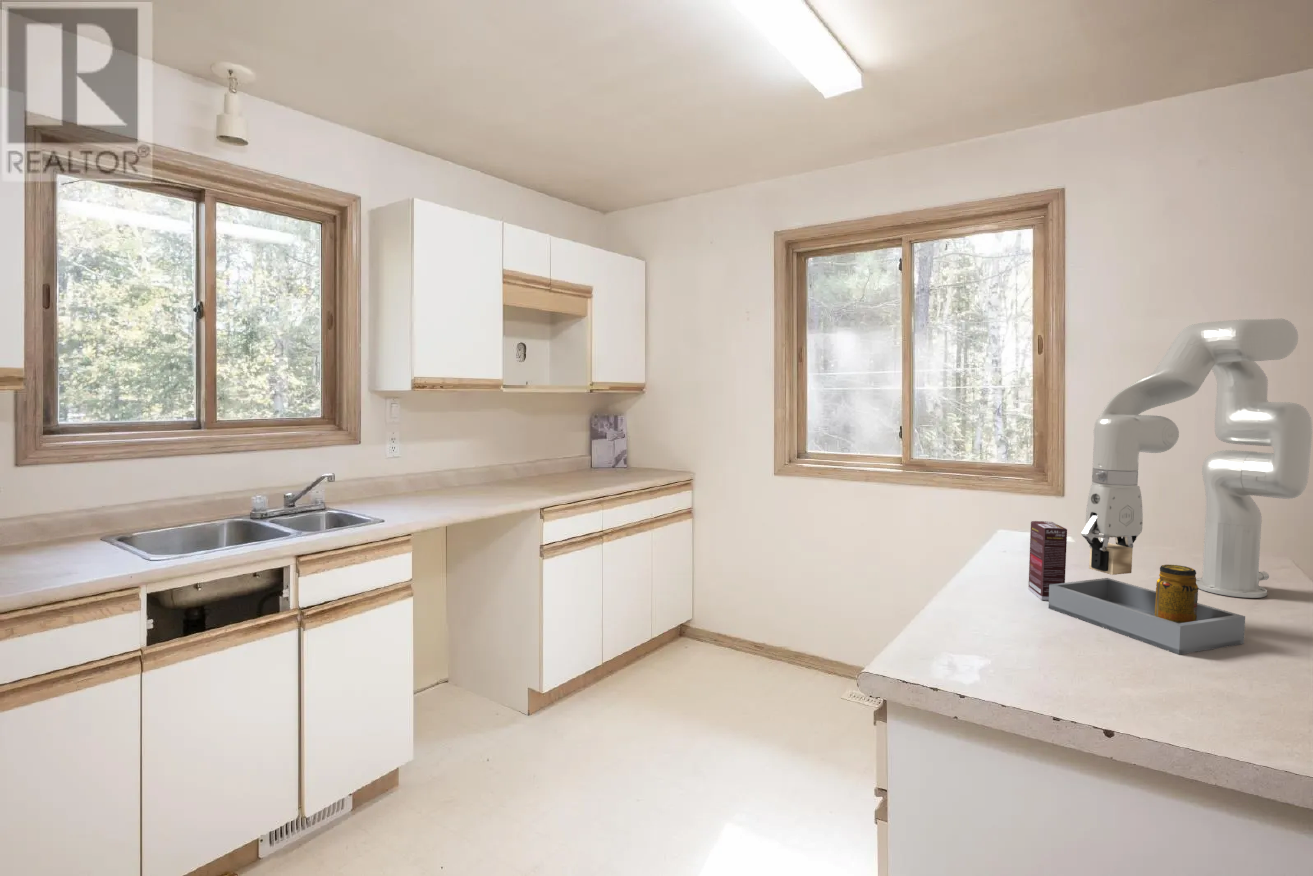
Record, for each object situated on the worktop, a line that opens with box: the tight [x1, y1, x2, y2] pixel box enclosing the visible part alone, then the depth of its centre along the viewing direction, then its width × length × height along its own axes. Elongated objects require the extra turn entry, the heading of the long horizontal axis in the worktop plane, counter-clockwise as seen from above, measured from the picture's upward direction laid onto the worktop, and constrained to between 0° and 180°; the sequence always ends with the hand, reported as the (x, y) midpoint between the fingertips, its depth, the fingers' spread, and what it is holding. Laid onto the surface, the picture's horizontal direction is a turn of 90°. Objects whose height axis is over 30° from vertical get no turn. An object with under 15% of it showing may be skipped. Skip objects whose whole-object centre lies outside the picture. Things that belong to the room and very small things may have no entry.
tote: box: [1048, 577, 1246, 656], centre depth 128 cm, size 16×26×5 cm, turn 17°
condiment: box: [1155, 564, 1199, 623], centre depth 121 cm, size 7×8×12 cm
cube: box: [1088, 542, 1134, 576], centre depth 133 cm, size 5×5×5 cm
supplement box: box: [1028, 520, 1068, 602], centre depth 147 cm, size 9×5×16 cm, turn 168°
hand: (1110, 567), depth 134 cm, fingers closed on cube, 5 cm apart
